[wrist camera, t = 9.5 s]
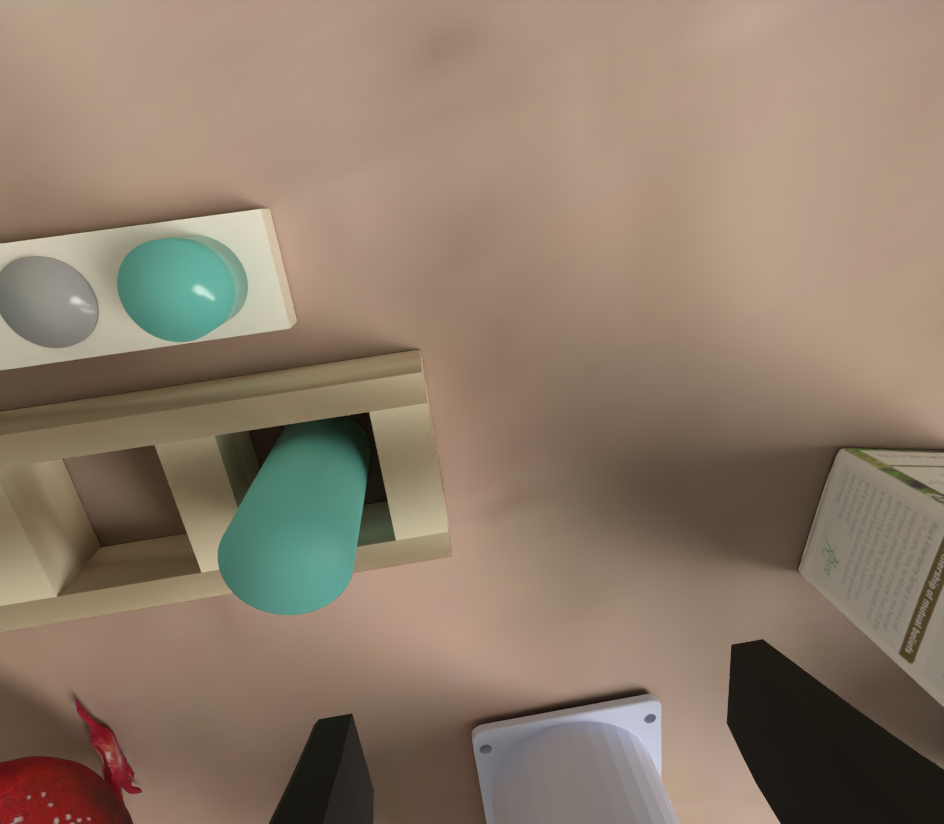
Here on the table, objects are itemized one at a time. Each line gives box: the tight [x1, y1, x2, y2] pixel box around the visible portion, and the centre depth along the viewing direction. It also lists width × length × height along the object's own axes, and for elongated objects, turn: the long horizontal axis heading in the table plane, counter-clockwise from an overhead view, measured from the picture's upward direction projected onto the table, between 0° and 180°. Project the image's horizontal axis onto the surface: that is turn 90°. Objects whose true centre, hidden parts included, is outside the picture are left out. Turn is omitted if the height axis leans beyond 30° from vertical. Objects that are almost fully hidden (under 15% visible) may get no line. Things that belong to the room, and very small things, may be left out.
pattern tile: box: [0, 209, 297, 371], centre depth 14 cm, size 3×12×3 cm, turn 97°
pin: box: [218, 415, 371, 615], centre depth 15 cm, size 3×3×6 cm
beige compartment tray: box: [0, 349, 452, 632], centre depth 15 cm, size 6×19×6 cm, turn 97°
